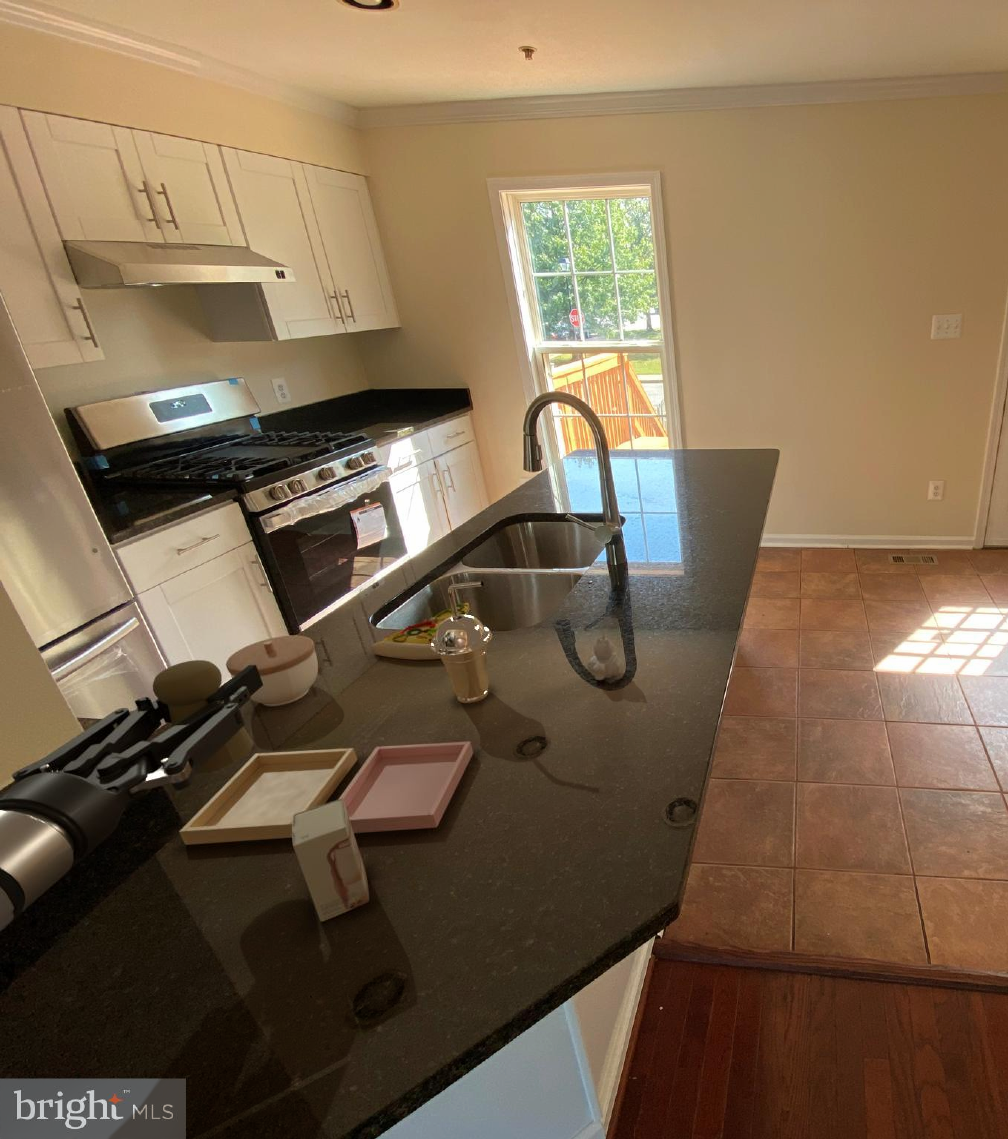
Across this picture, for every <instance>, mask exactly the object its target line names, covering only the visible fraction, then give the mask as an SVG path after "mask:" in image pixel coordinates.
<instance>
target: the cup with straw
mask: <svg viewBox="0 0 1008 1139" xmlns="http://www.w3.org/2000/svg"><path fill="white" fill-rule="evenodd" d="M484 585H485V584H484V581H482V580H481V581H473V582H463V583H452V584H451V585H449V586H448V588H447V593H448V597H449V602H450V608H452V612H453V616H451V617H448V618H447V619H445V620H444V621H443V622H442V623H441V624H440V625H439V626H438V629H437V631H436V634H435V636H434V637H433V638H432V640H431V649H432V651H434V652H435V653H437V654H439V656H440V658H441V659H440V660H441V662H442V663H443V664H444V667H445V670H446V672H447V675H448V678H449V681H450V683H451V686H452V688H453V691H454V693H455V695H456V699H457V700H458V702H460V703H462V704H472V703H477V702H479V701H482V700H483V699H485V698H486V697H487V696H488V695H489V689H488V688H489V674H488V648H489V643H490V642H491V641H492V638H493V633H492V632H491V629H490V628H489V627H488V626H486V625H484V624H483V623H482V621H481V620H480V619H479V618H477V617H476V616H474V615H471V614H468V615H467V614H458V611H457V606H456V604H457V602H456V597H455V590H458V589H466V588H467V589H468V588H478V587H484Z"/></svg>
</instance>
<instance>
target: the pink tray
mask: <svg viewBox="0 0 1008 1139" xmlns="http://www.w3.org/2000/svg"><path fill="white" fill-rule="evenodd" d="M473 754H474V751H473V745H472V742H471V741H455V742H454V741H453V742H439V743H438V742H437V743H420V744H419V743H418V744H401V745H385V746H382V745H381V746H376V747H375V748H374V749H373V750H372V752H371V753H370V755H369V756H368V758H367V759H366V760H365V761H364V763H363V765H362V766H361V767H360V769H359V770H358V771H357V773H356V774H355V775H354V777H353V778H352V780H351V781H350V782H349V784H348V785H347V787H346V788H345V790H344V791H343V792H342V794H341V795H340V796H339V798H338V799H337V800H339V799H343V800H344V804H345V807H346V810H347V814H348V817H349V820H350V823H351V826H352V830H353V833H354V834H360V833H361V834H362V833H377V832H390V831H402V830H403V831H405V830H406V831H407V830H419V829H420V830H421V829H431V828H432V829H433V828H435V829H436V828H438V826H439V824H440V822H441V819H442V818H443V815H444V813H445V812H446V810H447V808H448V805H449V804H450V802H451V800H452V797H453V795H454V793H455V791H456V789H457V787H458V786H459V784H460V781H461V779H462V777H463V775H464V773H465V771H466V769H467V767H468V765H469V762H470V761H471V758H472V757H473Z"/></svg>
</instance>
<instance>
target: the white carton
mask: <svg viewBox="0 0 1008 1139" xmlns="http://www.w3.org/2000/svg"><path fill="white" fill-rule="evenodd" d="M338 799H339V798H338ZM338 799H336V800H333V801H329V802H326V803H325V804H323V805H320V806H317V807H314V808H311V809H308V810H305V811H302V812H299V813H296V814H294V815H293V823H292V837H291V838H292V847H293V850H294V853H295V856H296V858H297V861H298V863H299V867H300V869H301V872H302V874H303V878H304V880H305V883H306V885H307V888H308V891H309V894H310V897H311V899H312V903H313V905H314V908H315V910H316V914H317V916H318V919H319V922H325V921H327V920H330V919H333V918H336V917H337V916H340V915H342V914H345V913H346V912H349V911H351V910H354V909H357V908H358V907H361V906H363V905H365V904H367V903H369V901H370V892H369V891H370V890H369V883H368V877H367V871H366V868H365V865H364V862H363V859H362V856H361V852H360V849H359V846H358V843H357V839H356V837H355V833H353V830H352V826H351V823H350V820H349V817H348V814H347V810H346V807H345V804H344V800H343V799H339V800H338Z"/></svg>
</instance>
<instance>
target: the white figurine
mask: <svg viewBox="0 0 1008 1139" xmlns="http://www.w3.org/2000/svg"><path fill="white" fill-rule="evenodd" d="M593 652H594V655H593V656H591V657H590V659H589V660H588V662H587V669H588V672H589V673H590V674H593V676H594V678H595V680H596V681H602V680H604V679H612V678H614V677H616V676H618V675H619V674H620V672H621V671H622V668H623V662H622V659H621V658H620V657H619V654H618V653H616V652H615V646H614V644H613V642H612V641H610V639H609V638H606V635H605V632H602V636H601V638H600V637H598V638H597V639H596V642H595V644H594V646H593Z"/></svg>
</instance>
